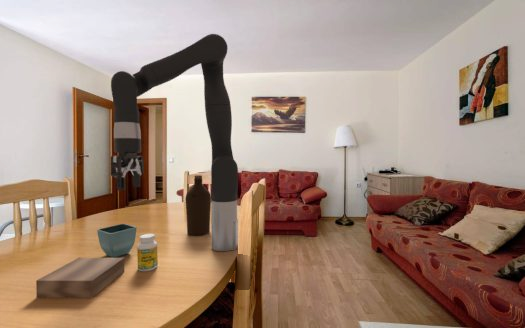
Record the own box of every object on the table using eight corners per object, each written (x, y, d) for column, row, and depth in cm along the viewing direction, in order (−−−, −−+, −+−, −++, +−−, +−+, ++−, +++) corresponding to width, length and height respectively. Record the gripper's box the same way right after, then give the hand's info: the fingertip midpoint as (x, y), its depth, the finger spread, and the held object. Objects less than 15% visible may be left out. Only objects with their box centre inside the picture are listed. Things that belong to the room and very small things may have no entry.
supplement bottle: (155, 262, 76) (155, 231, 75) (159, 269, 71) (158, 236, 71) (136, 266, 73) (136, 234, 72) (138, 273, 68) (138, 239, 68)
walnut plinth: (124, 271, 69) (124, 257, 69) (92, 297, 56) (92, 280, 56) (79, 271, 69) (78, 257, 69) (36, 297, 56) (36, 280, 56)
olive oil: (213, 234, 103) (213, 175, 102) (187, 238, 99) (186, 176, 98) (208, 228, 113) (208, 174, 112) (184, 230, 108) (184, 175, 108)
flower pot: (110, 262, 76) (110, 233, 76) (96, 256, 81) (96, 229, 80) (137, 252, 83) (137, 226, 83) (123, 247, 88) (123, 223, 88)
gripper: (126, 135, 70) (128, 191, 71) (150, 139, 85) (151, 185, 85) (100, 136, 70) (102, 191, 71) (129, 139, 85) (130, 186, 85)
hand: (129, 188), depth 78 cm, fingers open, 8 cm apart
